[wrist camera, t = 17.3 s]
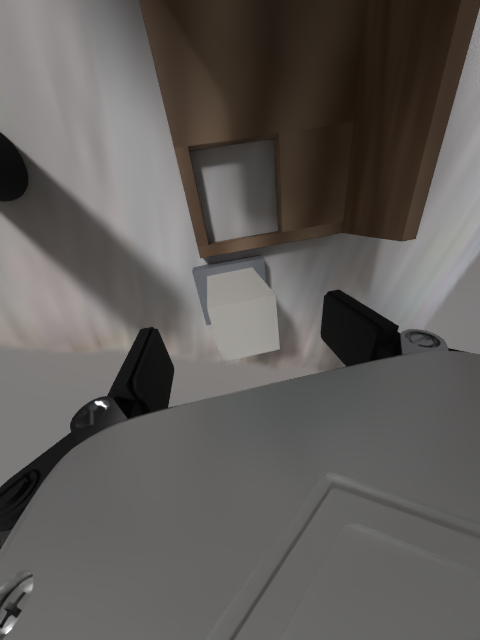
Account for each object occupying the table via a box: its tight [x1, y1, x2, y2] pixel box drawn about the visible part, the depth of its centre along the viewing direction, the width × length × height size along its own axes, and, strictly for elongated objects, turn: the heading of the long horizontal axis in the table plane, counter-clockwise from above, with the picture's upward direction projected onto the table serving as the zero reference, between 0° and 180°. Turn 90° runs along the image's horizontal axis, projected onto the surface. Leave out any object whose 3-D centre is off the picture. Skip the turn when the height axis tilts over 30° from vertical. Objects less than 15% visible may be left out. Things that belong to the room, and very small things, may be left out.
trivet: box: [192, 255, 266, 325], centre depth 21 cm, size 7×6×2 cm
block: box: [207, 267, 280, 362], centre depth 17 cm, size 4×4×8 cm
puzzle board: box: [139, 0, 480, 258], centre depth 12 cm, size 15×18×8 cm
